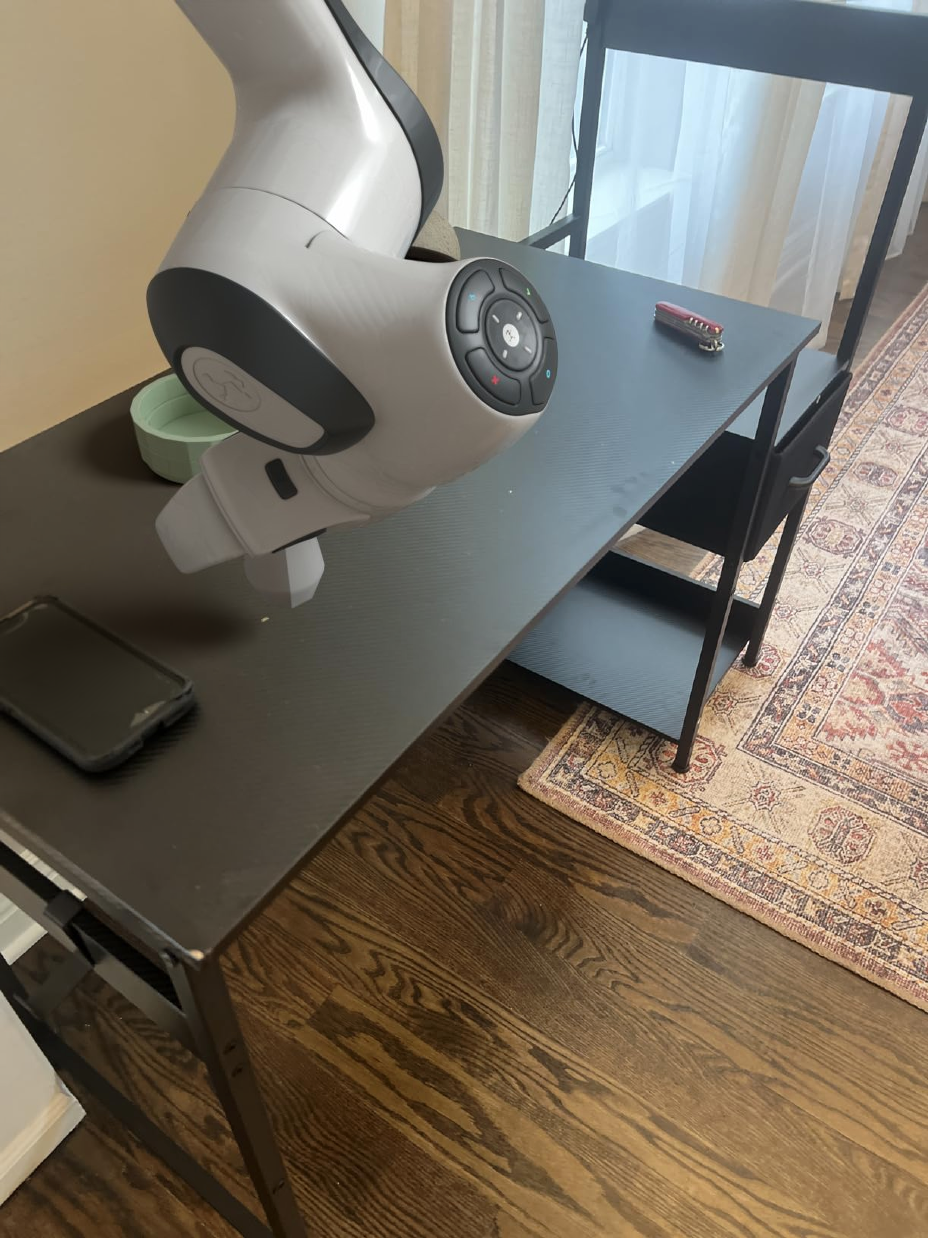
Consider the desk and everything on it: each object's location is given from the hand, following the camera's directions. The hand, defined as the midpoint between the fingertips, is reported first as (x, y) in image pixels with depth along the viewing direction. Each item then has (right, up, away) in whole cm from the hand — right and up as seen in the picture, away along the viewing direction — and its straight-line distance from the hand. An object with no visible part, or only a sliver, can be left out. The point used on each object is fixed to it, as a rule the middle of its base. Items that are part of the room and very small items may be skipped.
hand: (273, 508), depth 65 cm
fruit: (+7, +32, +52) cm, 61 cm away
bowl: (-11, +9, +26) cm, 30 cm away
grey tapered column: (0, -6, +5) cm, 7 cm away
